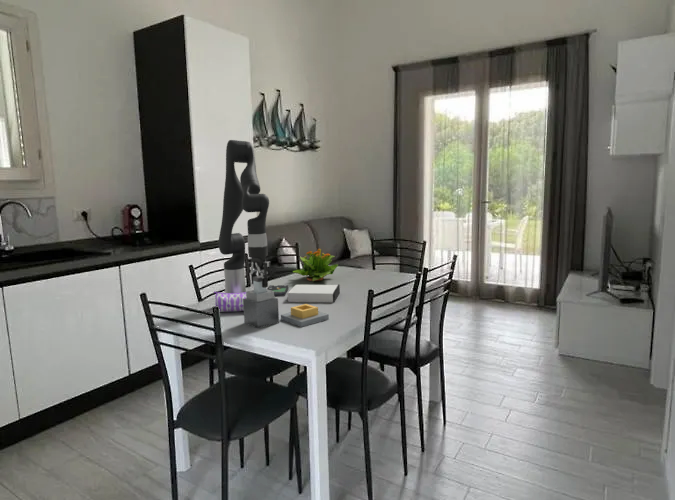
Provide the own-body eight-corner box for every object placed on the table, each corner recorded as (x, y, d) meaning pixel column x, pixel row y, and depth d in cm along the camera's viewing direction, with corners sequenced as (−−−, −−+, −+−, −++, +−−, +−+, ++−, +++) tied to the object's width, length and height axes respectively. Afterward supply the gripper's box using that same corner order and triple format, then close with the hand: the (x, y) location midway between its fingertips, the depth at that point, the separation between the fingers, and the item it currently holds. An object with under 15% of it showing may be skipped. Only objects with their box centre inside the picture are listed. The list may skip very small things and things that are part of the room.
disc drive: (334, 303, 211) (334, 293, 210) (287, 302, 214) (287, 292, 214) (340, 294, 228) (339, 284, 228) (296, 293, 232) (296, 284, 231)
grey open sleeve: (244, 322, 184) (242, 291, 182) (265, 317, 190) (263, 287, 188) (257, 328, 176) (255, 295, 174) (279, 322, 183) (277, 291, 181)
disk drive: (269, 290, 240) (264, 297, 226) (269, 285, 240) (264, 291, 225) (288, 290, 240) (285, 296, 226) (288, 284, 240) (285, 291, 225)
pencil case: (265, 306, 208) (264, 286, 207) (266, 311, 199) (265, 290, 198) (215, 310, 204) (214, 289, 202) (214, 316, 195) (213, 294, 193)
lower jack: (280, 319, 187) (280, 307, 186) (307, 312, 196) (307, 301, 195) (301, 326, 177) (300, 314, 176) (328, 319, 186) (328, 307, 185)
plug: (254, 298, 182) (253, 276, 181) (261, 297, 184) (260, 275, 183) (259, 300, 179) (257, 278, 178) (266, 298, 182) (265, 276, 180)
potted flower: (286, 282, 255) (285, 252, 252) (301, 274, 277) (300, 246, 275) (328, 284, 248) (327, 253, 245) (340, 275, 270) (340, 246, 267)
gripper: (240, 244, 181) (242, 284, 184) (259, 247, 171) (261, 290, 173) (256, 242, 186) (258, 281, 189) (275, 245, 176) (277, 286, 178)
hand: (259, 285), depth 181 cm, fingers open, 7 cm apart
